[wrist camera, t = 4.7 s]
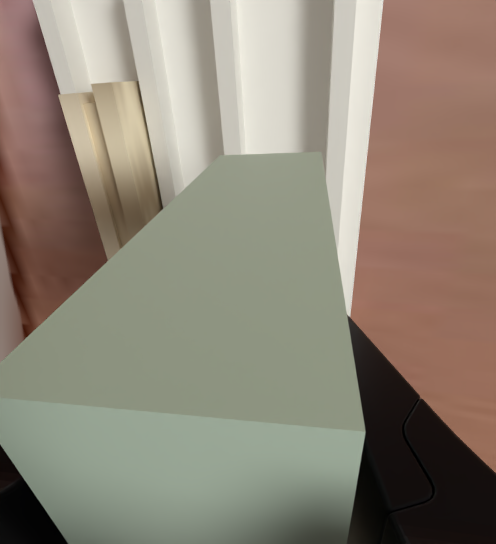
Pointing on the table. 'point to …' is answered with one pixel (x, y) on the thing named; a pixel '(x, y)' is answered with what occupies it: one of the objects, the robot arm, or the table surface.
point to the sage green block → (199, 374)
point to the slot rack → (235, 84)
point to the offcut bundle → (114, 159)
